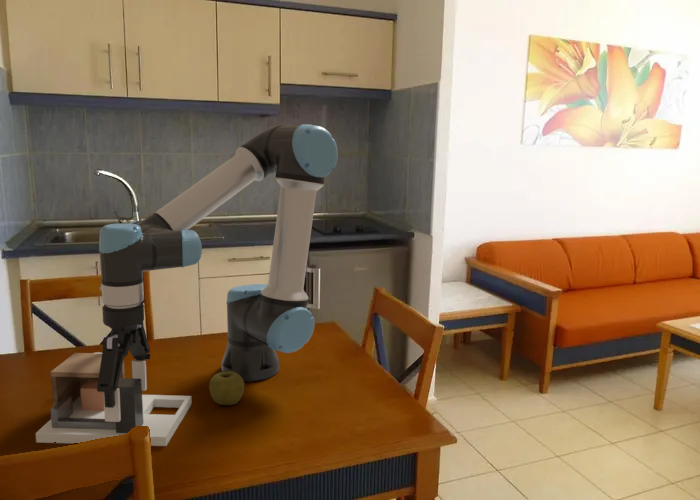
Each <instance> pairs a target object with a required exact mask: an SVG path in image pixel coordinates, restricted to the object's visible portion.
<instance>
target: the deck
mask: <svg viewBox="0 0 700 500" xmlns="http://www.w3.org/2000/svg"><path fill="white" fill-rule="evenodd" d="M192 399H193V398H192V395H169V394H168V395H166V394H165V395H164V394H142V404H143V425H142V426H148V427H149V429H150V438H151V446H150V447H153V446H154V447H167V446H168V444H169V443H170V441H171V438H172V437H173V435H174V434H175V433H176V430H177V429H178V427H179V426H180V424H181V422H182V421H183V420H184V418H185V417H186V415H187V413H188V411H189V409H190V408H191V407H192V404H193V401H192ZM72 405H73V414H72V415H71V416H70V417H69V418H92V419H105V412H104V411H103V410H82V402H81V396H80V397H79V398H78V399H77V400H75V401H74V402H73V403H72ZM154 408H169V409H170V408H176V409H178V410H177V411H176V412H175V414H159V413H158V414H155V413H151V412H152V411H153V410H154ZM124 434H127V433H116V430H109V429H75V428H52V422H51V418H50V420H48V421H47V422H46V423H45V424H44V425H43V426H41V428H40V429H38V430H37V432H35V443H37V444H38V443H43V444H44V443H45V444H72V445H73V444H74V443H80V442H86V441H90V440H95V439H100V438H106V437H113V436H119V435H124ZM54 442H56V443H54Z"/></svg>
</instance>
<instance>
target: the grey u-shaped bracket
mask: <svg viewBox="0 0 700 500" xmlns="http://www.w3.org/2000/svg"><path fill="white" fill-rule="evenodd" d="M117 388H119V390H120V414H121V420H120V422H107V421H105V419H92V418H69V417H70V416H71V415H72V414H73V405H72V396H65V397H64V398H63V399H62V400H61V401H60V402H59V403H57V404H56V405H55V406H54V407H53V406H52V408H50V419H51V422H52V428H75V429H109V430H116V433H128V432H129V431H130V430H131V429H132V428H134V427H136V426H142V425H143V404H142V395H143V391H142V384H141V379H133V378H127V377H125V378H121V379H120V380H119V381H118V386H117Z"/></svg>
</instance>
